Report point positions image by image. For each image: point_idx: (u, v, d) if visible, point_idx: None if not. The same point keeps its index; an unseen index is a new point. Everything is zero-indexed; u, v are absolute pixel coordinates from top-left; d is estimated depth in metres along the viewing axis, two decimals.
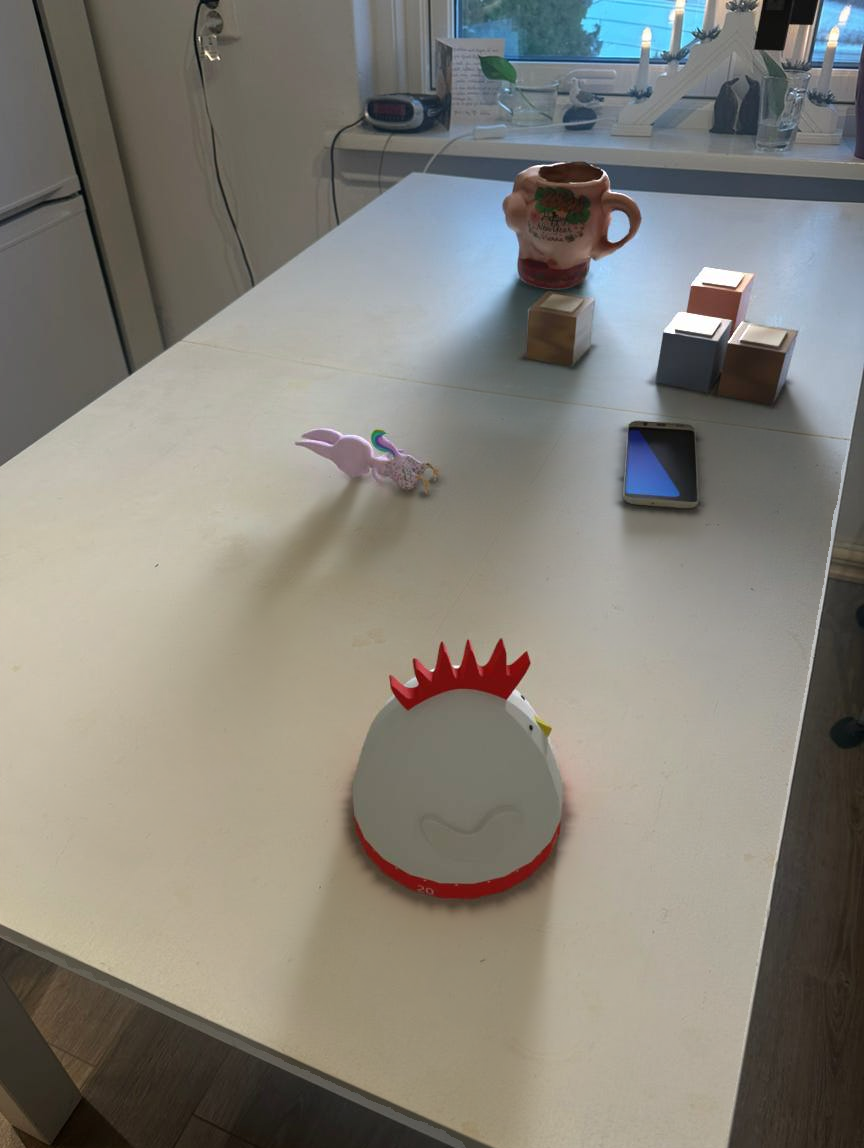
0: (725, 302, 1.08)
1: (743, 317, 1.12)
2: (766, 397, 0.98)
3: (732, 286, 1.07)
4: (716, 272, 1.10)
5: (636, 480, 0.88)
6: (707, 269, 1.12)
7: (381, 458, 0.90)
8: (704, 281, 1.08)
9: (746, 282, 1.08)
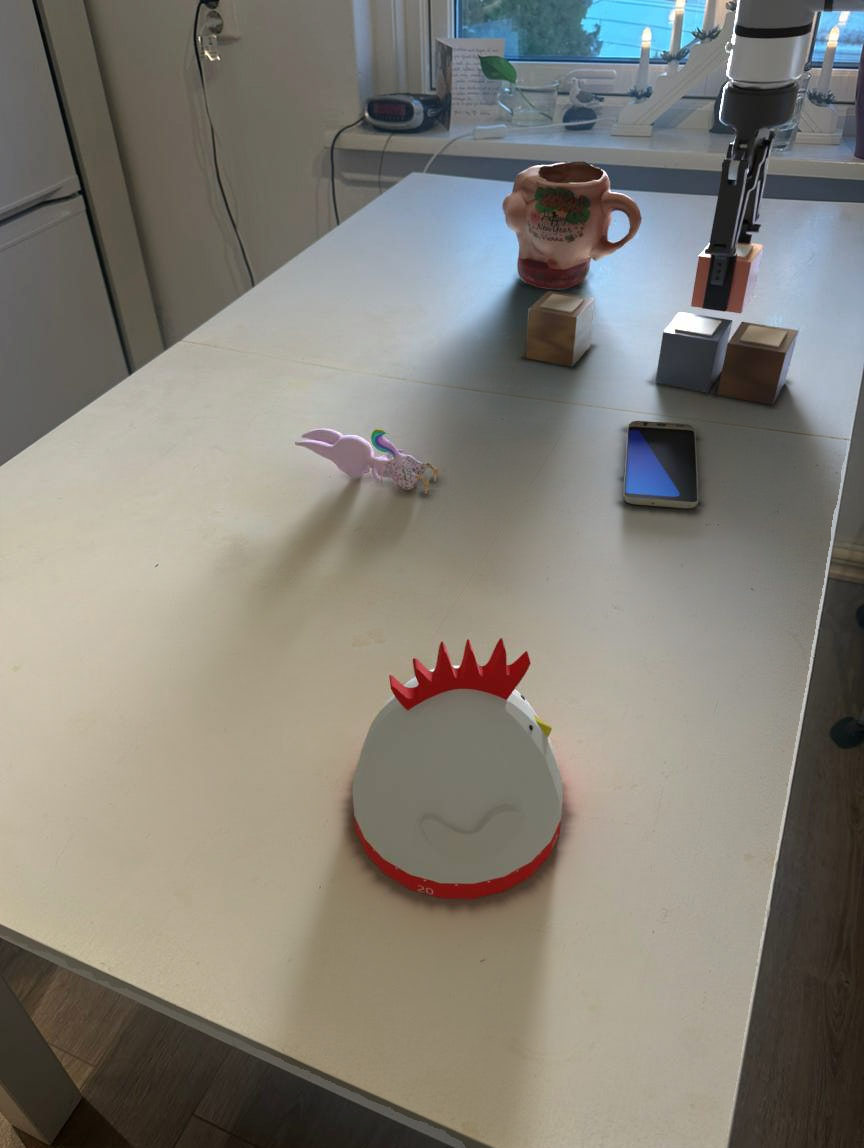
0: None
1: (752, 289, 1.09)
2: (766, 397, 0.98)
3: (741, 256, 1.05)
4: None
5: (636, 480, 0.88)
6: None
7: (381, 458, 0.90)
8: None
9: (755, 252, 1.05)
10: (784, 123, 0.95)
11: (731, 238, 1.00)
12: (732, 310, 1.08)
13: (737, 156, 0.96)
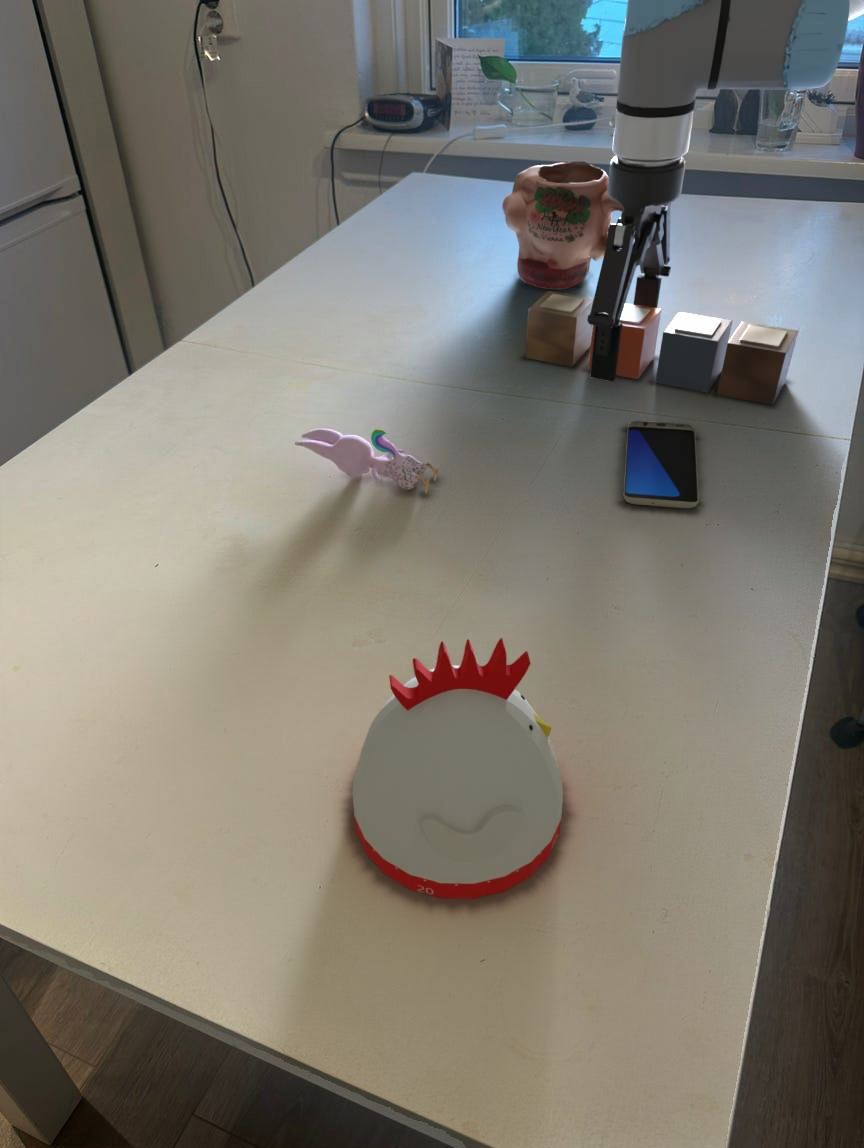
0: (628, 339, 1.02)
1: (651, 353, 1.06)
2: (766, 397, 0.98)
3: (635, 322, 1.01)
4: None
5: (636, 480, 0.88)
6: None
7: (381, 458, 0.90)
8: None
9: (651, 318, 1.02)
10: (670, 201, 0.92)
11: (613, 306, 0.94)
12: (629, 375, 1.04)
13: (624, 224, 0.92)
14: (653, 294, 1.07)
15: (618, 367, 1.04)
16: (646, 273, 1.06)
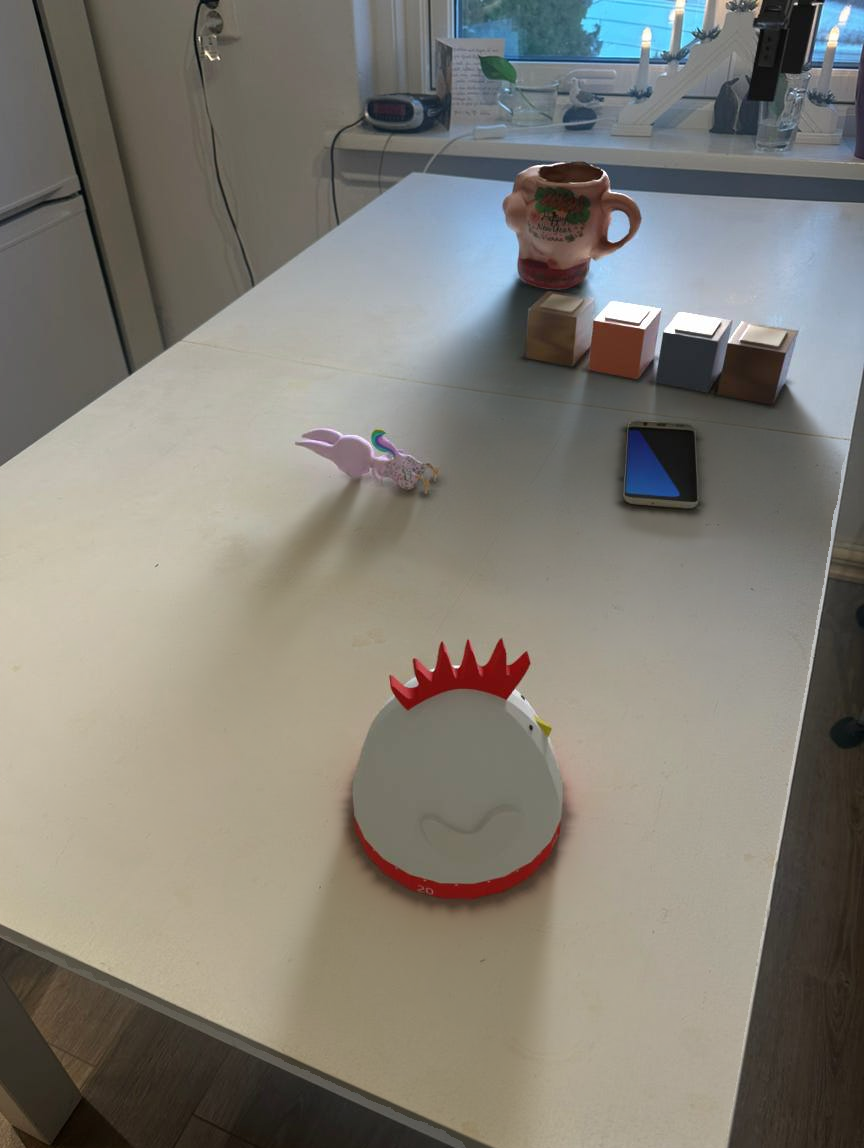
0: (628, 339, 1.02)
1: (651, 353, 1.06)
2: (766, 397, 0.98)
3: (635, 322, 1.01)
4: (621, 306, 1.04)
5: (636, 480, 0.88)
6: (613, 303, 1.06)
7: (381, 458, 0.90)
8: (607, 316, 1.03)
9: (651, 318, 1.02)
10: None
11: None
12: (629, 375, 1.04)
13: None
14: (806, 24, 1.02)
15: (618, 367, 1.04)
16: (800, 1, 1.01)
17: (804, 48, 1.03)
